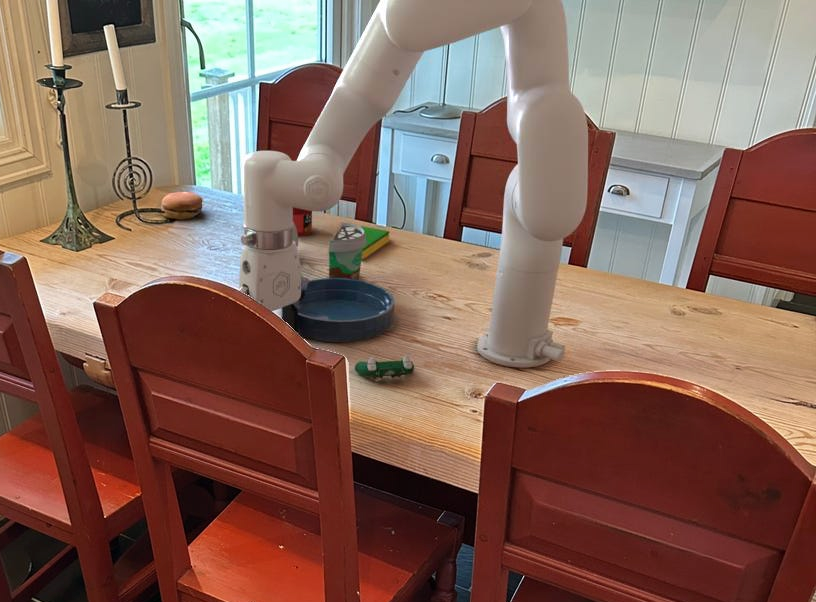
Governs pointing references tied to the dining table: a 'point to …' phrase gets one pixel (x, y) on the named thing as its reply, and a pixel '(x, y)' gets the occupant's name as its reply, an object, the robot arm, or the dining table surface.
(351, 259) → the food container
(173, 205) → the burger
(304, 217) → the canned food
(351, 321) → the basin
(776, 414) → the dining table surface
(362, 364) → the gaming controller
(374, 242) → the dish sponge
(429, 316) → the dining table surface
